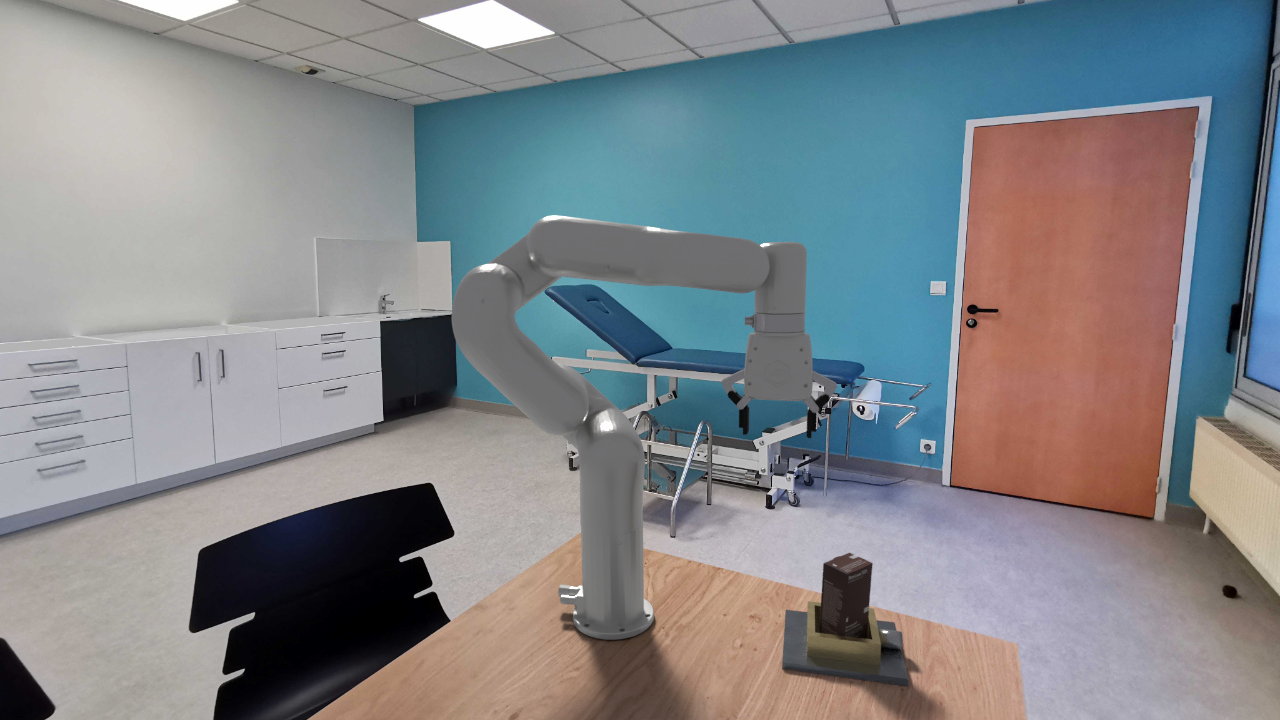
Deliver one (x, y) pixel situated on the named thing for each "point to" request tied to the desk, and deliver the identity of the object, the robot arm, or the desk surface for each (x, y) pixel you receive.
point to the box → (845, 596)
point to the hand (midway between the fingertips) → (777, 434)
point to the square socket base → (843, 649)
